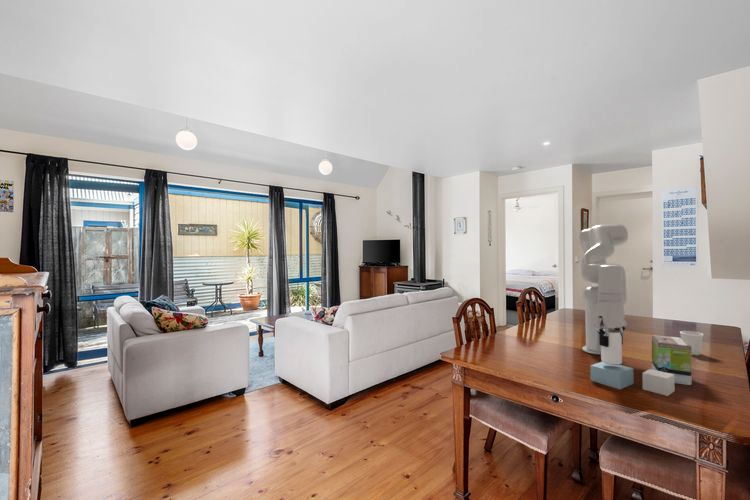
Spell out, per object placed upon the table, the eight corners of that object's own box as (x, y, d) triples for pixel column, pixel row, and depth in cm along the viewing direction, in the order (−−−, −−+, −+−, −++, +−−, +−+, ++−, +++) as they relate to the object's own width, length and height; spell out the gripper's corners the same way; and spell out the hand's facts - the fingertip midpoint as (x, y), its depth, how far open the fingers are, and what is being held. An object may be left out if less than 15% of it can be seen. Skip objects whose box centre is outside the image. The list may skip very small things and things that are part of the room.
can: (625, 365, 125) (625, 332, 126) (605, 364, 127) (605, 332, 127) (616, 360, 132) (616, 329, 132) (598, 359, 133) (597, 328, 133)
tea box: (693, 386, 124) (692, 345, 125) (657, 381, 130) (656, 341, 130) (683, 373, 137) (682, 336, 137) (651, 369, 142) (650, 333, 143)
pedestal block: (604, 376, 136) (604, 361, 136) (633, 384, 127) (633, 368, 127) (590, 381, 131) (590, 365, 131) (619, 390, 122) (619, 373, 122)
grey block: (650, 385, 126) (649, 368, 126) (674, 391, 120) (674, 374, 120) (642, 389, 122) (642, 372, 122) (667, 396, 116) (667, 378, 116)
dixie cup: (694, 351, 167) (693, 330, 167) (709, 356, 158) (708, 335, 158) (675, 351, 168) (675, 330, 168) (689, 356, 159) (689, 334, 159)
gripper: (617, 295, 136) (618, 340, 136) (584, 297, 130) (584, 344, 130) (636, 297, 129) (637, 345, 128) (602, 300, 123) (603, 350, 123)
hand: (611, 344), depth 129 cm, fingers closed on can, 6 cm apart
